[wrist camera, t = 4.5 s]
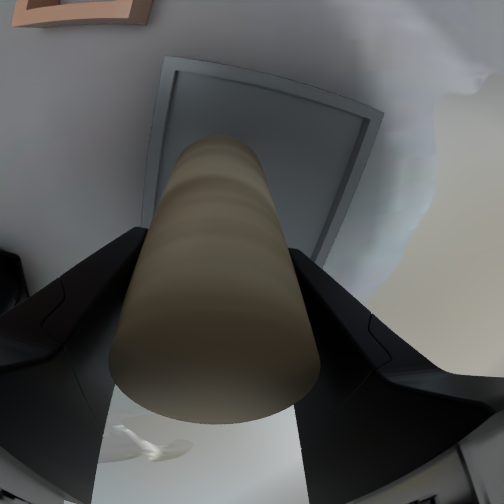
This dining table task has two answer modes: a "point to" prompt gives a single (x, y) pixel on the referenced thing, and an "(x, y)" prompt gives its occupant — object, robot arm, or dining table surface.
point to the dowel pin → (214, 298)
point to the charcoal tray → (266, 142)
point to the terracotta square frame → (79, 13)
